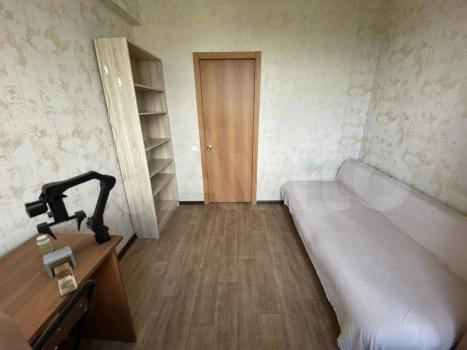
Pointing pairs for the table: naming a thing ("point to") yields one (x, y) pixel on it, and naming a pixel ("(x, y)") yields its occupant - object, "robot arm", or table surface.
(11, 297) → the table surface
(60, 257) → the tunnel
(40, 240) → the supplement bottle
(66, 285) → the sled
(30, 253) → the table surface
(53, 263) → the pit pad
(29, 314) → the table surface
